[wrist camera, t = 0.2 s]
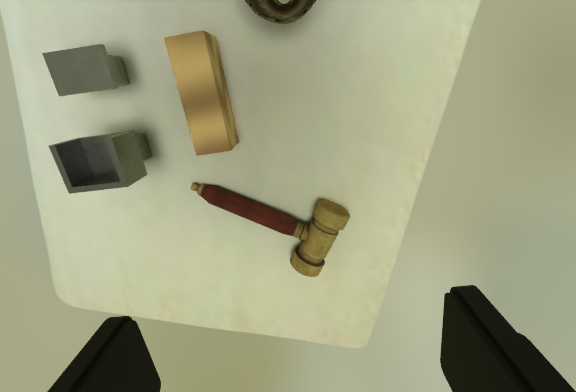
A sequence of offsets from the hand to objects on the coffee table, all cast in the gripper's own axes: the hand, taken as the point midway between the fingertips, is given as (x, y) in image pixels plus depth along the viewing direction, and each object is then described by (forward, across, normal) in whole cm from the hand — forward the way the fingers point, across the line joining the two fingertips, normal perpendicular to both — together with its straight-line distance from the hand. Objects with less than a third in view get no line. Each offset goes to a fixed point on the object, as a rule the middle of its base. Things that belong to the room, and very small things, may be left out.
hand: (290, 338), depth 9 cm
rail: (+31, +9, -7) cm, 33 cm away
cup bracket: (+30, +20, -2) cm, 37 cm away
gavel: (+31, +6, +9) cm, 33 cm away
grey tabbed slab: (+30, +20, -11) cm, 38 cm away
